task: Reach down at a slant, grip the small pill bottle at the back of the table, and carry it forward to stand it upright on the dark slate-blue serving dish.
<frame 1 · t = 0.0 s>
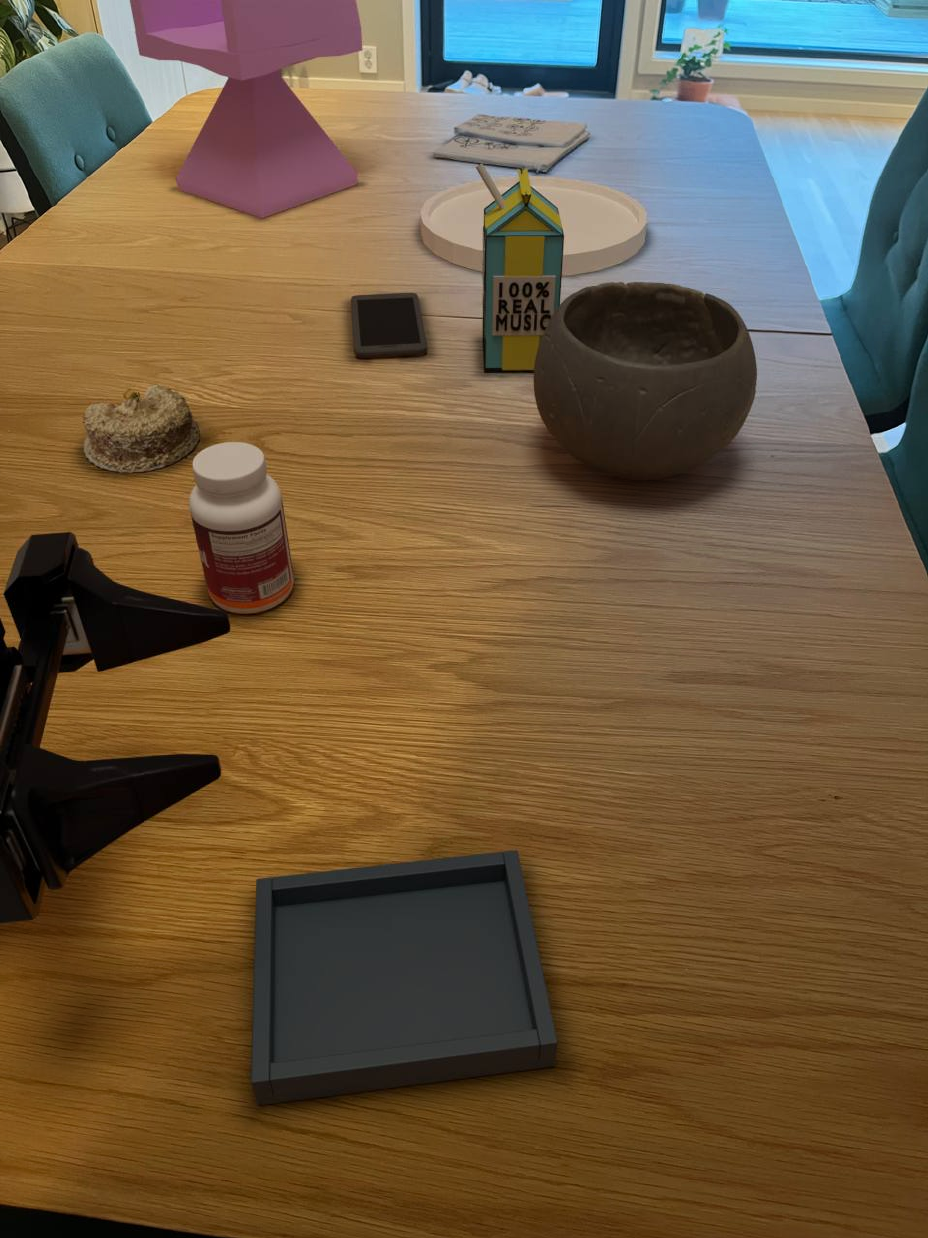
hand: (224, 688, 46), 14 cm above the table, tool horizontal, fingers open, 9 cm apart
cake: (143, 444, 89), on the table
folded cloth napkin: (510, 149, 154), on the table
bowl: (633, 458, 87), on the table
dish: (398, 980, 50), on the table
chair: (268, 188, 141), on the table
carton: (513, 357, 102), on the table
plate: (532, 234, 127), on the table
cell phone: (387, 328, 106), on the table
pill bottle: (252, 591, 74), on the table
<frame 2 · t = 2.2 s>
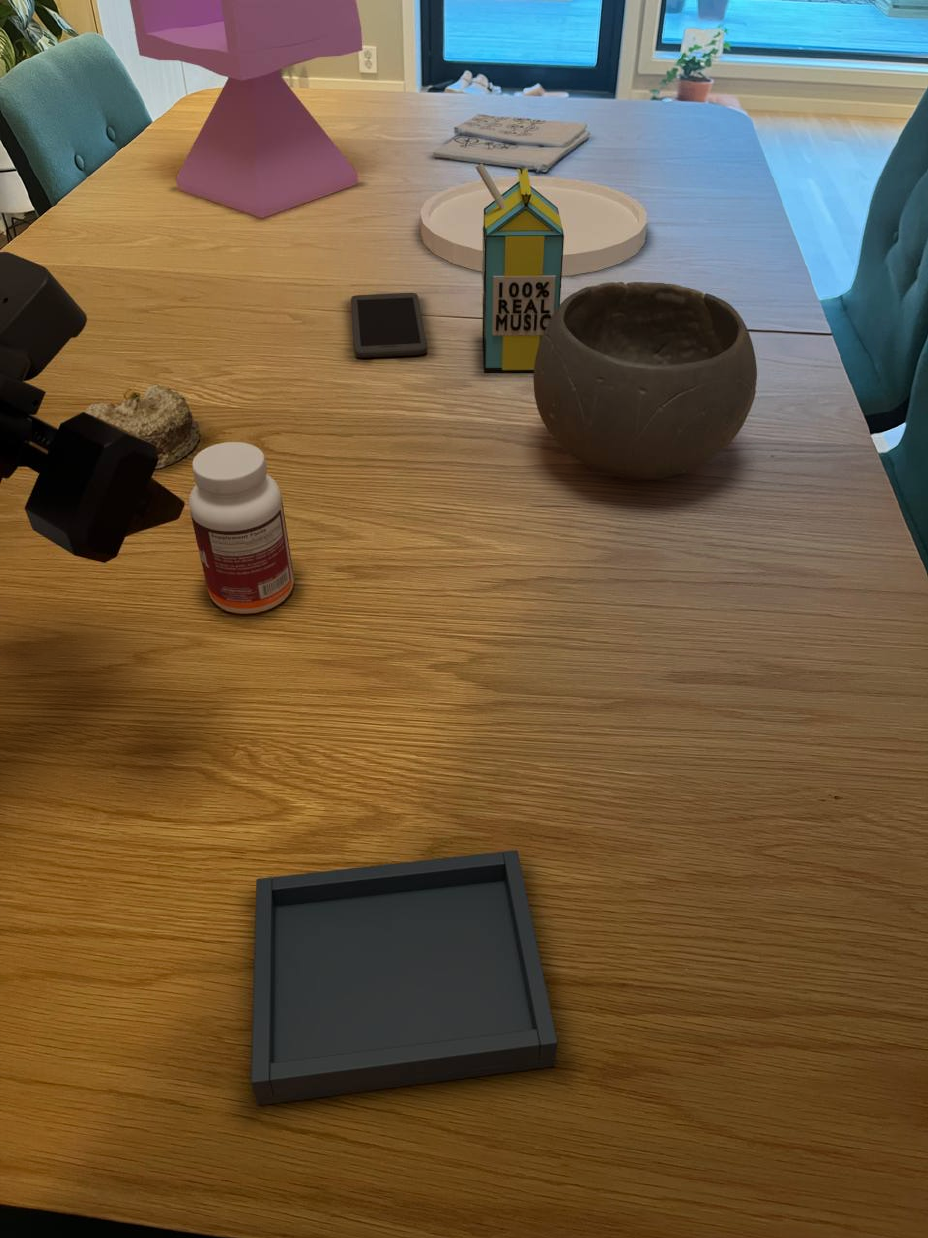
hand: (128, 482, 59), 14 cm above the table, tool tilted 45°, fingers open, 9 cm apart
nothing on the table moved.
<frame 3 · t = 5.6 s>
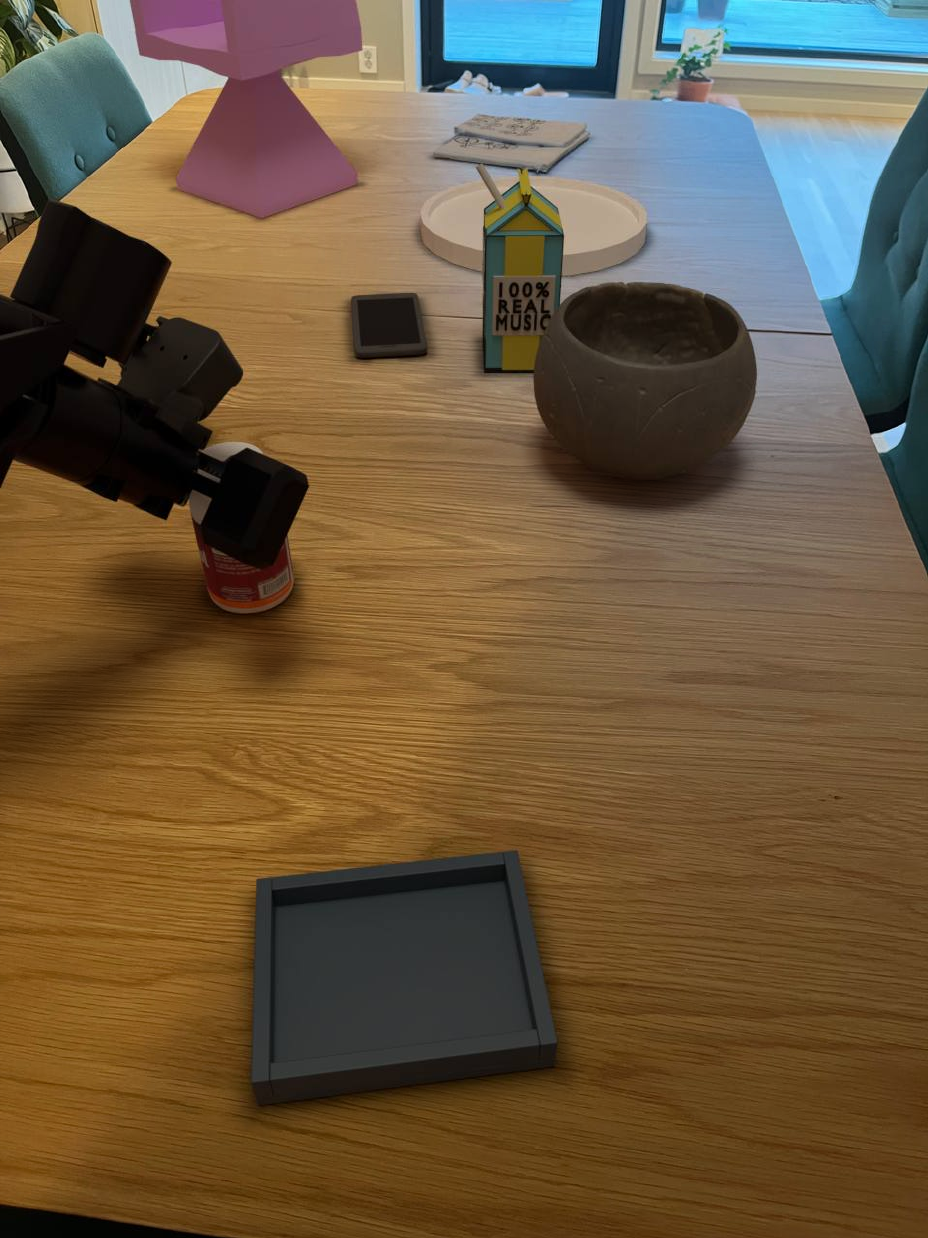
hand: (253, 505, 70), 7 cm above the table, tool tilted 45°, fingers closed on pill bottle, 6 cm apart
pill bottle: (252, 591, 74), on the table, touching gripper
everything else where it was.
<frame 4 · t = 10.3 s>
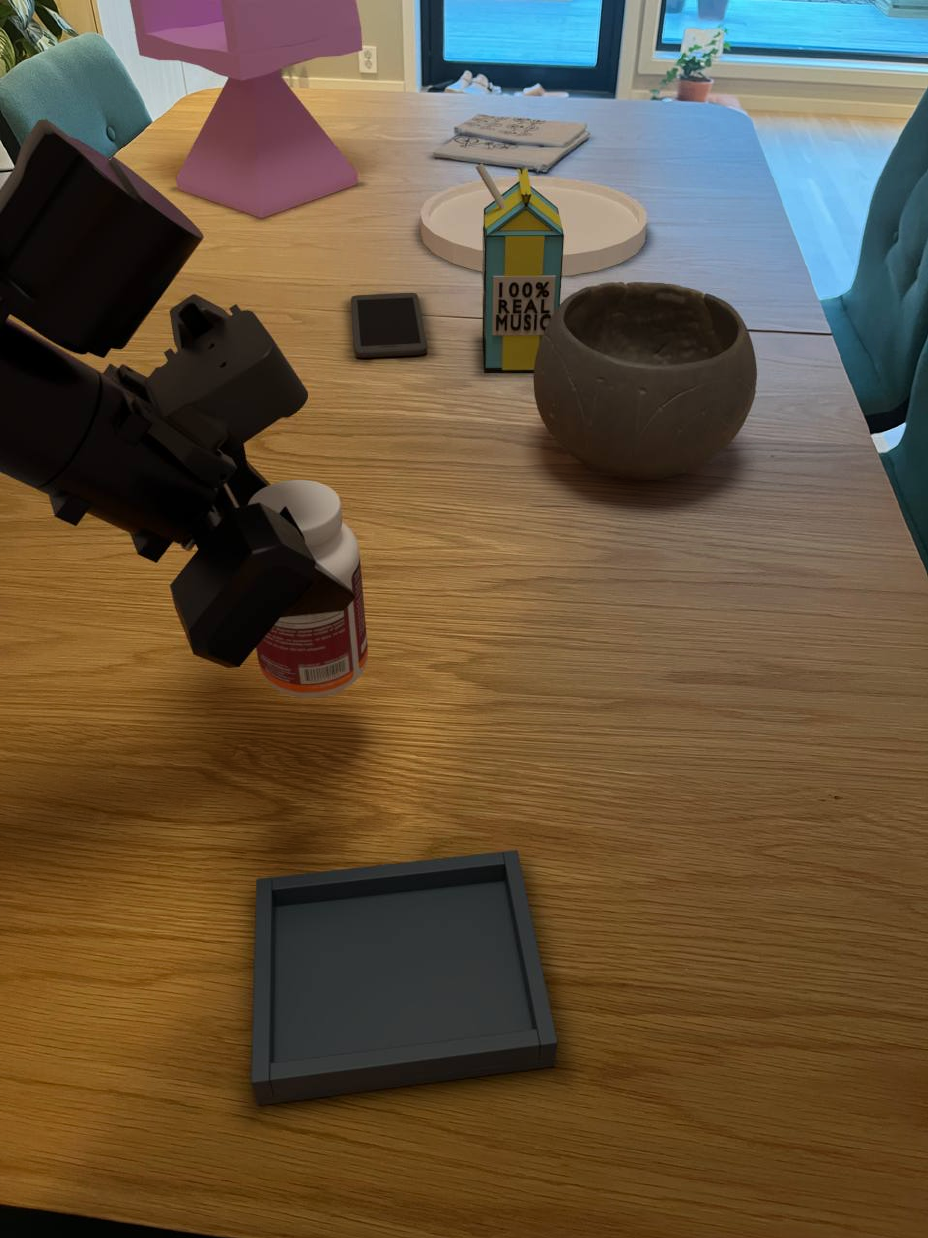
hand: (328, 567, 54), 13 cm above the table, tool tilted 45°, fingers closed on pill bottle, 6 cm apart
pill bottle: (314, 667, 58), point 6 cm above the table, touching gripper
everything else where it was.
when the fingers open (7 cm above the table, at t = 15.4 s): pill bottle stays where it is, resting on dish.
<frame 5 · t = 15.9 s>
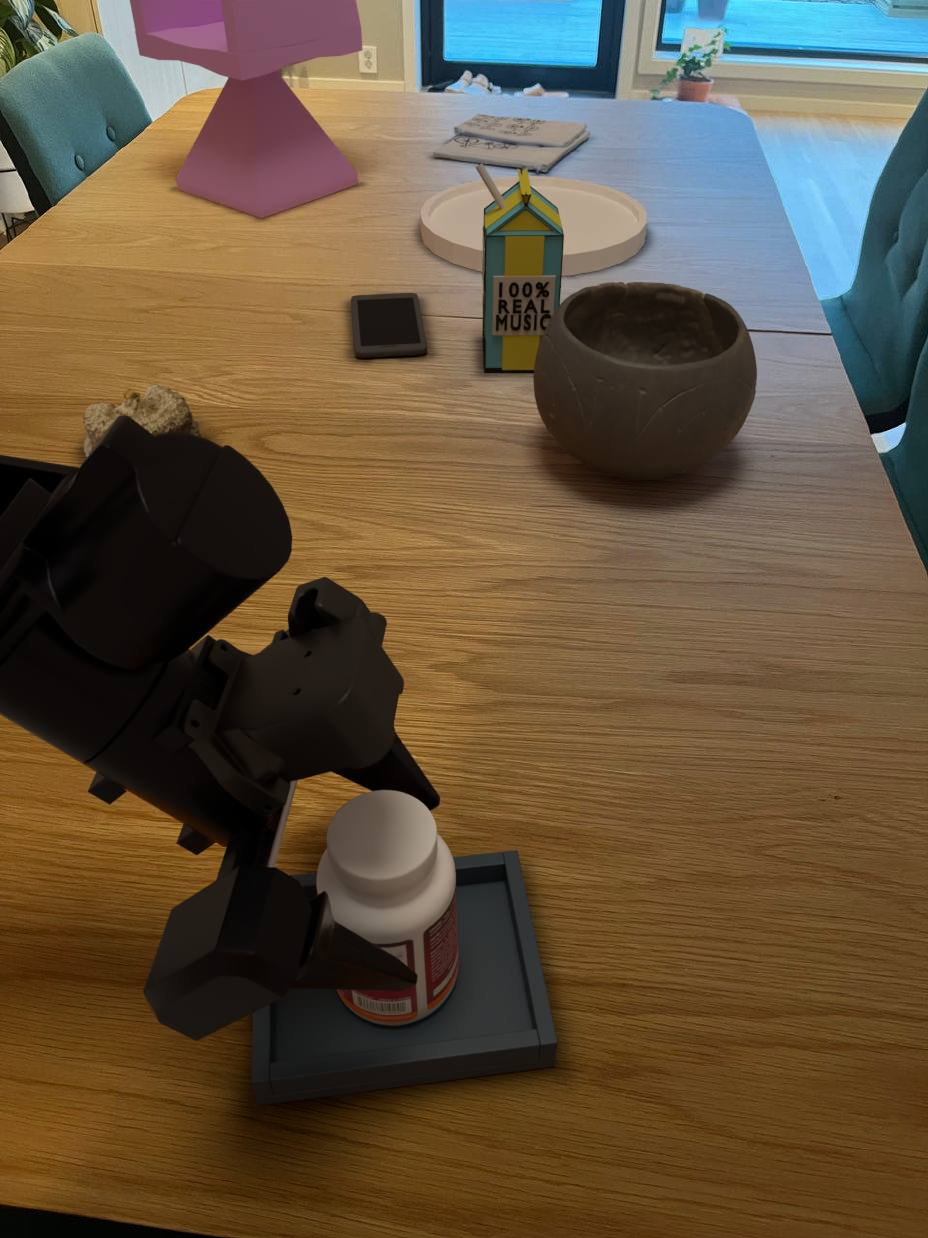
hand: (423, 888, 45), 8 cm above the table, tool tilted 45°, fingers open, 9 cm apart
pill bottle: (395, 973, 50), point 1 cm above the table, touching dish
everything else where it was.
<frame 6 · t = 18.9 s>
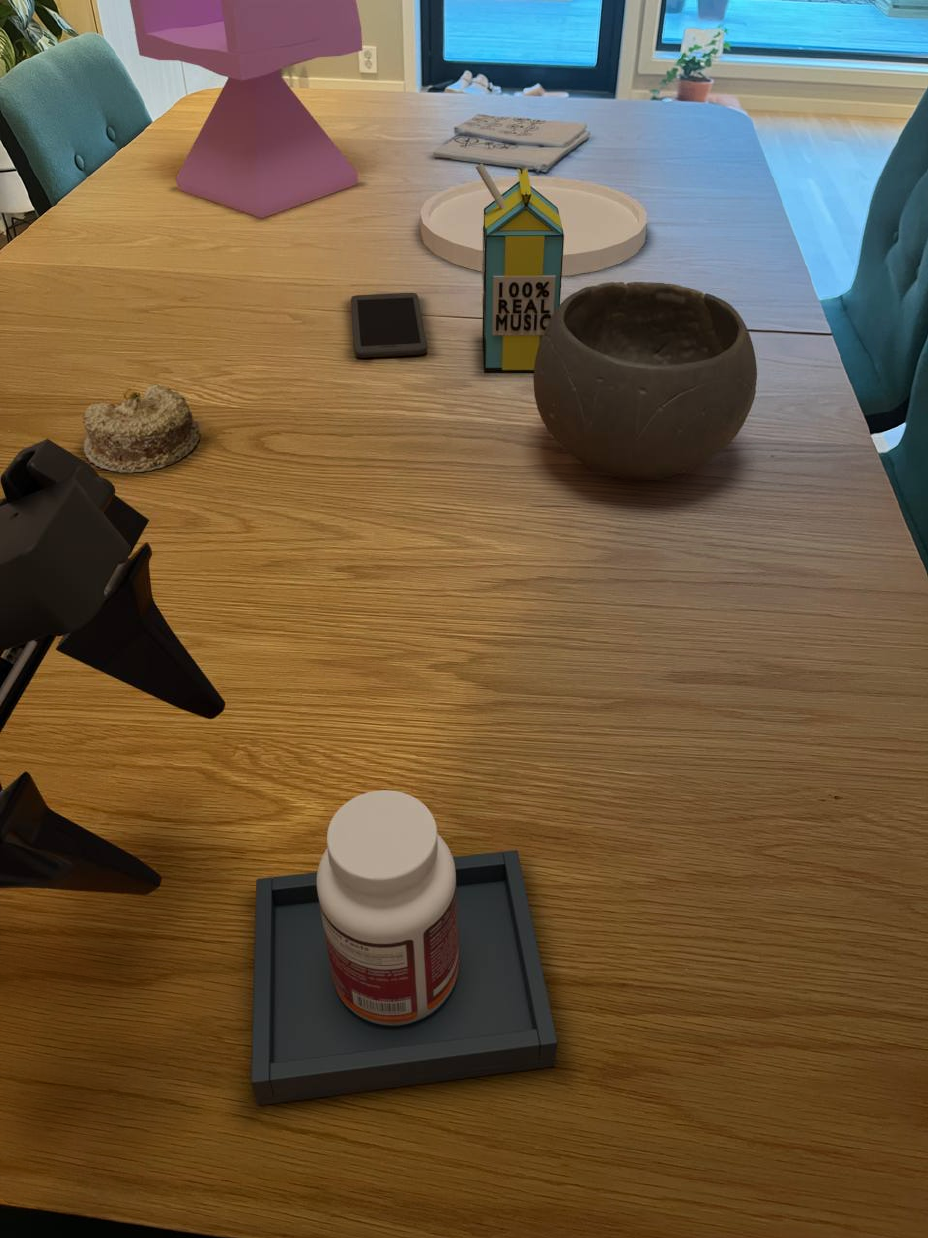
hand: (190, 792, 42), 14 cm above the table, tool tilted 45°, fingers open, 9 cm apart
nothing on the table moved.
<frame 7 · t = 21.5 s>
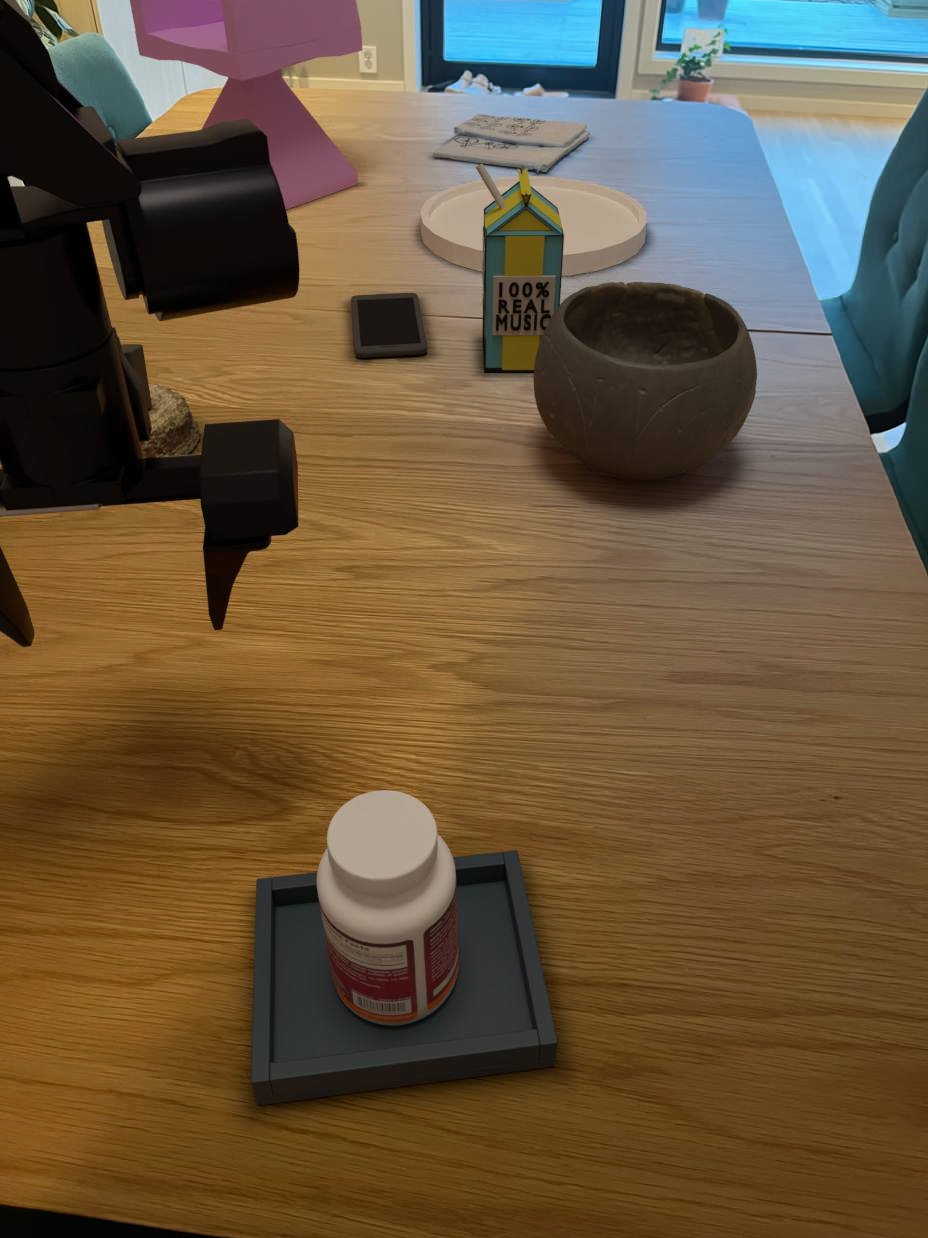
hand: (125, 632, 50), 13 cm above the table, tool pointing down, fingers open, 9 cm apart
nothing on the table moved.
at the end: pill bottle inside the target area in the dish (0.1 cm from its centre), point 0.6 cm above the dish's base; pill bottle tilted 0°; the gripper is holding nothing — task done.
